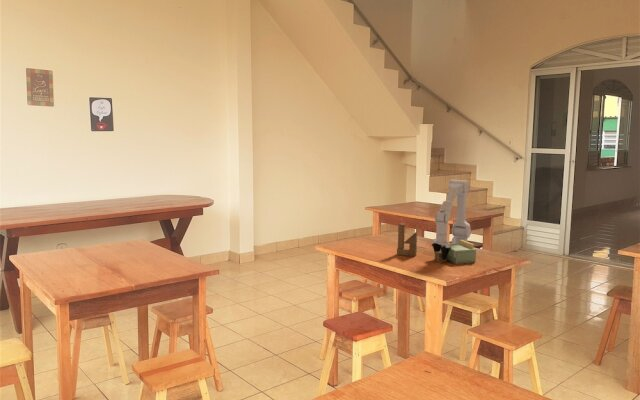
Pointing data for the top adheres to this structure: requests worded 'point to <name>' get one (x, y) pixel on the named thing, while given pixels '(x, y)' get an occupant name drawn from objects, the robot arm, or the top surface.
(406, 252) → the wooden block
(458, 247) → the lid
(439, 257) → the small brown cube
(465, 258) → the toolbox
